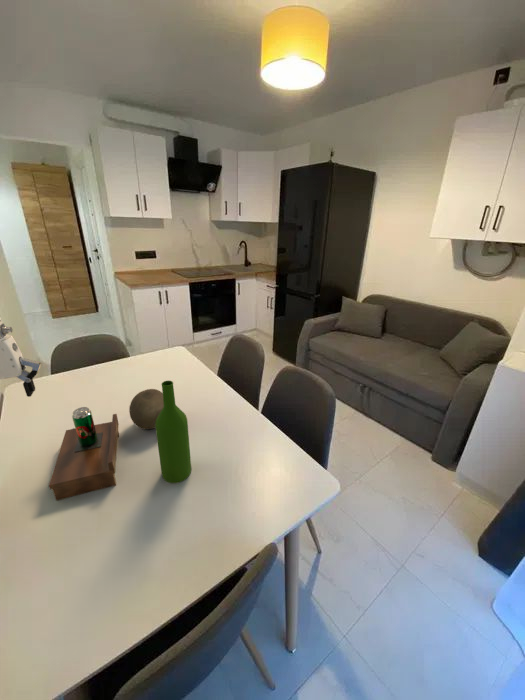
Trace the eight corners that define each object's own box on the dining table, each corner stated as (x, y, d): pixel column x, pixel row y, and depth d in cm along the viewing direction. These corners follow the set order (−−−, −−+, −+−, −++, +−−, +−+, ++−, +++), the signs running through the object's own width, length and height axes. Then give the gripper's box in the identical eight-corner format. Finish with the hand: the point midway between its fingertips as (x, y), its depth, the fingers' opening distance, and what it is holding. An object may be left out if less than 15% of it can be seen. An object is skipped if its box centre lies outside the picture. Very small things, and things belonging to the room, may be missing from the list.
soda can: (91, 434, 96) (83, 404, 91) (101, 439, 94) (94, 409, 90) (76, 443, 92) (67, 412, 87) (86, 449, 90) (78, 418, 85)
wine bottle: (192, 459, 96) (185, 374, 83) (190, 481, 88) (183, 390, 75) (164, 462, 95) (152, 375, 81) (160, 485, 87) (146, 392, 73)
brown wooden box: (54, 501, 80) (45, 477, 77) (70, 443, 101) (63, 423, 97) (117, 484, 86) (112, 462, 82) (120, 433, 106) (116, 413, 103)
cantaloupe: (128, 440, 103) (122, 405, 97) (136, 416, 116) (130, 383, 110) (169, 436, 106) (166, 401, 100) (172, 412, 119) (169, 381, 113)
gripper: (34, 325, 72) (51, 384, 79) (-58, 331, 66) (-30, 395, 73) (24, 335, 66) (44, 399, 73) (-78, 344, 60) (-45, 412, 67)
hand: (7, 397), depth 73 cm, fingers open, 9 cm apart
